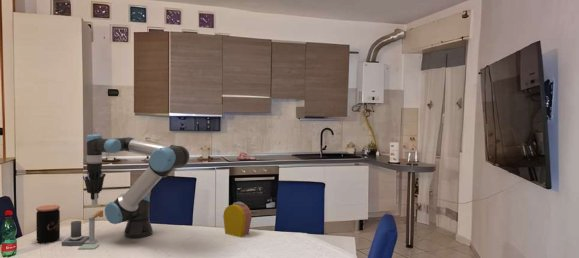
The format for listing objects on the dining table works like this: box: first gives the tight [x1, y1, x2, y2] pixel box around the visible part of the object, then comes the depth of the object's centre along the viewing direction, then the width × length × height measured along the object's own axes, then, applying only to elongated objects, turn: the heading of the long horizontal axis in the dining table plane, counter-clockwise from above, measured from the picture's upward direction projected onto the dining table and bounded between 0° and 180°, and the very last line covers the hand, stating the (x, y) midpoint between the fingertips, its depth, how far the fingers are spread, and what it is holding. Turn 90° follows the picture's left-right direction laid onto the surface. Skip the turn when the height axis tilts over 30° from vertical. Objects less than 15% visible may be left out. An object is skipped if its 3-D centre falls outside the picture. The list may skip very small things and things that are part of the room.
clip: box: [88, 209, 104, 221], centre depth 213 cm, size 14×3×4 cm, turn 5°
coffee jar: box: [35, 204, 61, 244], centre depth 209 cm, size 11×11×18 cm
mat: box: [77, 243, 100, 250], centre depth 201 cm, size 8×6×1 cm
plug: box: [69, 220, 83, 241], centre depth 207 cm, size 6×6×11 cm
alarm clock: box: [222, 201, 253, 238], centre depth 228 cm, size 15×8×18 cm, turn 58°
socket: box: [61, 220, 99, 247], centre depth 207 cm, size 15×10×12 cm, turn 95°
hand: (94, 204), depth 217 cm, fingers closed
